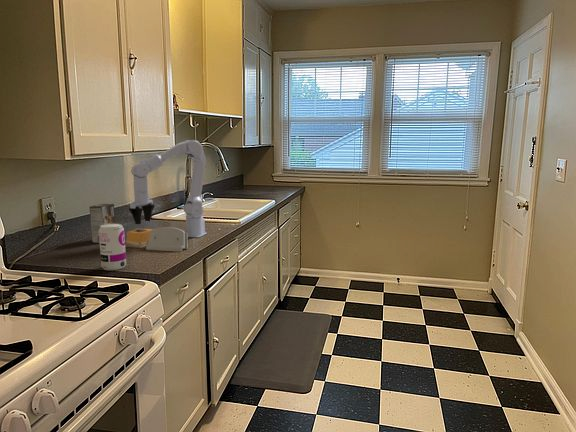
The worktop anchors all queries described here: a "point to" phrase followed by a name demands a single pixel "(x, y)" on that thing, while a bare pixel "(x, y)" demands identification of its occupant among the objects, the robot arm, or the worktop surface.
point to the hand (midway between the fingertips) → (142, 222)
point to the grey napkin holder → (168, 239)
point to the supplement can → (112, 246)
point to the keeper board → (136, 244)
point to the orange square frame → (139, 235)
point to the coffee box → (101, 218)
